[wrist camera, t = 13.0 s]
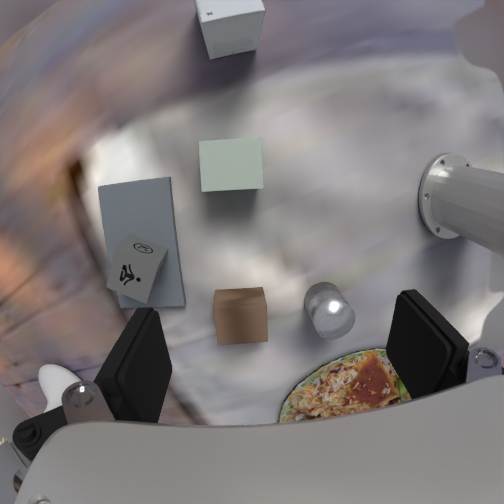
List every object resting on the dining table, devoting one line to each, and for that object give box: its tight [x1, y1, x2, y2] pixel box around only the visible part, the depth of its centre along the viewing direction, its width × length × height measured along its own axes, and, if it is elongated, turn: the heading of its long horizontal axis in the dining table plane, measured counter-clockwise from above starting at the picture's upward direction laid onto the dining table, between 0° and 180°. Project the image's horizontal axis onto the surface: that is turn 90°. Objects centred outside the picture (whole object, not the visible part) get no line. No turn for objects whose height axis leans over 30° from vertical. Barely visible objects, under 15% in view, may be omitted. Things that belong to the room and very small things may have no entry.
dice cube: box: [106, 234, 168, 304], centre depth 31 cm, size 5×5×5 cm
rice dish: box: [279, 348, 411, 423], centre depth 45 cm, size 28×28×5 cm
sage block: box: [199, 138, 263, 192], centre depth 30 cm, size 6×5×5 cm
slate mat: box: [98, 177, 186, 308], centre depth 34 cm, size 9×16×1 cm, turn 3°
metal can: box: [304, 282, 355, 339], centre depth 35 cm, size 5×5×6 cm
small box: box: [194, 0, 266, 59], centre depth 21 cm, size 8×6×10 cm
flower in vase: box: [0, 364, 82, 445], centre depth 29 cm, size 13×11×25 cm
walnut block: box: [213, 287, 268, 345], centre depth 35 cm, size 6×5×5 cm
